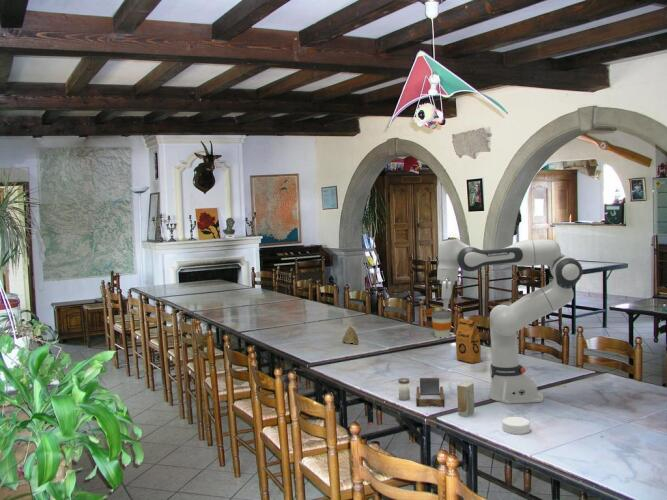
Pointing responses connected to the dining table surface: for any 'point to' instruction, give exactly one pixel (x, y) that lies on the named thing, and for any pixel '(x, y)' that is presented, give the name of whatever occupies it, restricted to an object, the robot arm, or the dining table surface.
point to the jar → (404, 389)
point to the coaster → (516, 425)
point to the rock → (350, 336)
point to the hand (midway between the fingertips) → (445, 308)
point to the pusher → (429, 386)
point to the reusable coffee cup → (441, 323)
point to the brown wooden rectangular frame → (430, 400)
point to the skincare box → (465, 398)
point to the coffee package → (468, 342)
